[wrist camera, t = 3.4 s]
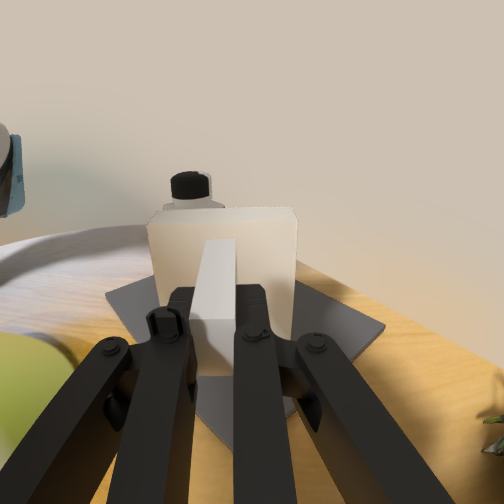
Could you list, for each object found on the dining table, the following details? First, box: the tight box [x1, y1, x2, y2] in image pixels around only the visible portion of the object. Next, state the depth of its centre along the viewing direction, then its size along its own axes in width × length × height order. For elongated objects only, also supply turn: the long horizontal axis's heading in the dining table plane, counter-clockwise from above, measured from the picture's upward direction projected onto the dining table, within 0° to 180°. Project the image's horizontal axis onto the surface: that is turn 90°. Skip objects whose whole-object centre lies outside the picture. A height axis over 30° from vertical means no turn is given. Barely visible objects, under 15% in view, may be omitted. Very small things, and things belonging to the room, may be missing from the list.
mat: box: [105, 275, 385, 452], centre depth 33 cm, size 26×20×1 cm
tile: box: [146, 207, 298, 340], centre depth 24 cm, size 3×10×13 cm, turn 92°
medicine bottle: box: [163, 171, 225, 211], centre depth 47 cm, size 7×7×12 cm
